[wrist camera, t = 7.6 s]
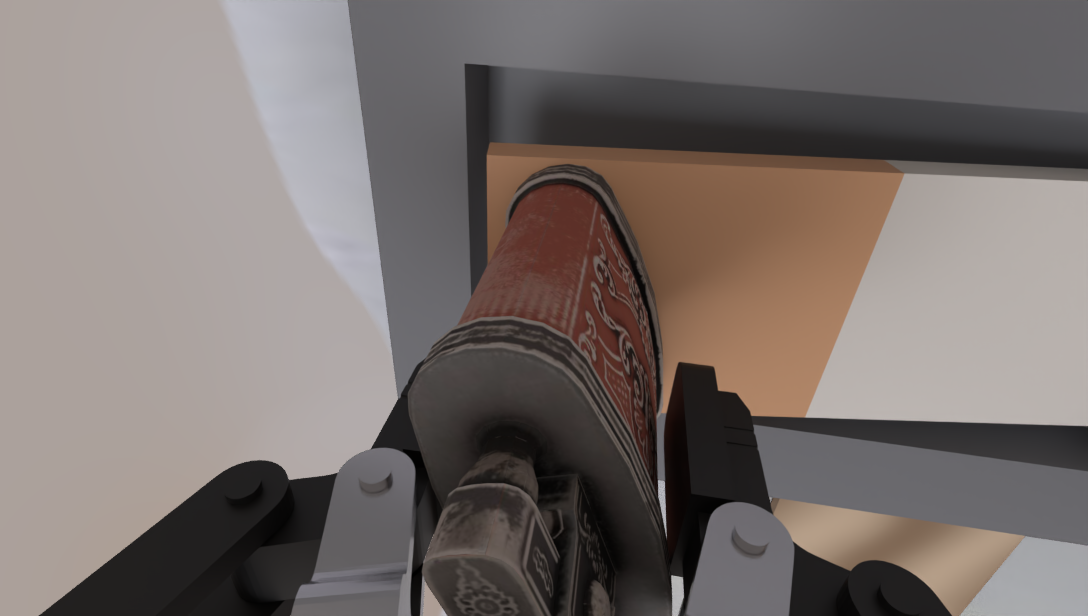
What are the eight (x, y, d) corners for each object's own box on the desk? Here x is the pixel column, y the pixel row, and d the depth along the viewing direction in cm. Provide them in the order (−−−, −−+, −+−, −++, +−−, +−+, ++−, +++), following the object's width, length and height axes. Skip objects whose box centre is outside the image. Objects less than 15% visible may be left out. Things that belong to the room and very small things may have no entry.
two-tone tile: (1260, 176, 15) (1304, 190, 14) (1085, 405, 19) (1110, 426, 18) (489, 142, 14) (486, 155, 13) (491, 386, 18) (489, 407, 18)
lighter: (485, 181, 14) (247, 524, 6) (619, 146, 13) (569, 497, 5) (573, 420, 18) (508, 835, 9) (681, 406, 17) (716, 854, 9)
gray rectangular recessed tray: (1576, -41, 13) (1804, -38, 10) (1105, 489, 23) (1162, 556, 20) (384, -101, 16) (333, -109, 13) (427, 392, 25) (403, 441, 23)
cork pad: (1026, 513, 24) (1033, 525, 23) (927, 636, 29) (932, 648, 29) (781, 476, 25) (784, 487, 24) (730, 602, 30) (731, 613, 30)
